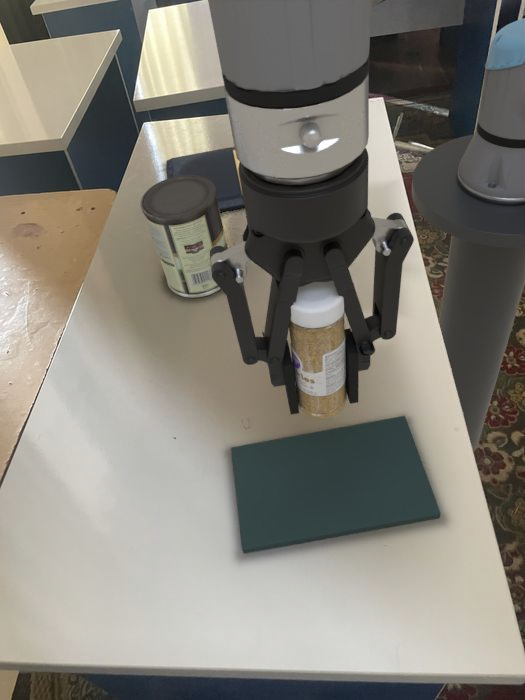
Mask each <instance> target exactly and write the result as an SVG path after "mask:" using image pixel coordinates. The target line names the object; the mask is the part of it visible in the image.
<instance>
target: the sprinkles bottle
mask: <svg viewBox="0 0 525 700" xmlns="http://www.w3.org/2000/svg"><path fill="white" fill-rule="evenodd" d="M344 329H345V311H344V298H343V297H342V296H339V295H338V293H337V290H336V287H335V285H334V282H333V281H329V282H313V283H310V284H307V285H305V286H302V287H299V288H298V293H297V298H296V302H294V303H293V305H292V306H291V319H290V324H289V330H288V332H289V338H290V345H289V347H290V354H291V358H292V363H293V369H294V377H295V384H296V392H297V399H298V407H299V411H301V412H302V413H303V414H304V415H306V416H308V417H311V418H314V419H328V418H331V417H334V416H336V415H338V414H339V413H340V412H341V411H342V410H344V408H345V407H346V404H347V401H348V396H347V392H346V388H345V379H346V345H345V330H344Z"/></svg>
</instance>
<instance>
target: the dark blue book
mask: <svg viewBox="0 0 525 700" xmlns="http://www.w3.org/2000/svg"><path fill="white" fill-rule="evenodd" d="M239 163H240V161H239V160H238V159H237V157H236V152H235V147H234V146H232V147H225V148H218V149H213V150H209V151H203V152H198V153H191V154H187V155H181V156H176V157H172V158H170V159H167V160H166V163H165V164H166V168H165V169H166V179H168V178H172V177H176V176H182V175H196V176H201V177H204V178H206V179H208V180H210V181H211V182H212V183H213V184H214V186H215V188H216V197H217V202H218V207H219V211H220V213H224V212H229V211H234V210H238V209H245V206H244V200H243V194H242V189H241V183H240V177H239V170H238V168H239Z"/></svg>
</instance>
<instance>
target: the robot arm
mask: <svg viewBox="0 0 525 700" xmlns="http://www.w3.org/2000/svg"><path fill="white" fill-rule="evenodd" d="M385 1H386V0H207V2H208V7H209V12H210V17H211V22H212V28H213V33H214V39H215V44H216V49H217V54H218V60H219V64H220V69H221V76H222V81H223V92H224V97H225V102H226V103H225V104H226V108H227V113H228V119H229V124H230V130H231V136H232V141H233V147H235V152H236V157H237V159H238V160H239V161H240V163H239V168H238V170H239V177H240V183H241V189H242V194H243V200H244V206H245V207H244V211H245V217H246V227H245V229H244V231H243V234H242V241H240V242H237V244H234V245H233V246H231V247H228V249H227V250H226V248H224V247H223V246H215V247H213V248H212V249H211V250H210V262H211V272H212V278H213V280H214V281H215V282H216V284H217V285H218V286H219V287H220V288H221V289H220V290H221V291H222V292H223V293H224V295H225V296H226V300H227V303H228V307H229V312H230V315H231V319H232V323H233V327H234V330H235V331H234V332H235V336H236V338H237V339H236V340H237V343H238V346H239V350H240V354H241V358H242V361H243V363H244V364H245V365H247V366H252V365H256V364H257V363H258V362H259V361H260V362H264V363H266V364H267V367H268V373H269V378H270V383H271V385H272V386H273V387H274V388H278V387H282V386H284V387H285V392H286V397H287V402H288V408H289V413H290V415H297V414H300V408H299V407H298V399H297V392H296V383H295V377H294V369H293V363H292V354H291V348H290V345H289V341H288V335H289V324H290V319H291V306H292V305H293V303H294V302H296V298H297V293H298V288H299V287H302V286H305V285H307V284H310V283H313V282H329V281H333V282H334V285H335V287H336V290H337V293H338V295H339V296H342V297H343V298H344V311H345V312H344V315H345V317H346V319H347V322H348V325H349V328H344V330H345V345H346V379H345V388H346V392H347V400H348V402H349V405H352V404H356V403H359V372H363V371H368V370H369V368H370V367H371V356H373V355H374V354H375V352H376V347H375V344H374V342H375V341H377V340H378V339H381V340H385V341H387V340H392V339H393V338H394V337H396V335H397V330H398V329H397V326H398V316H399V307H400V306H399V305H400V298H401V297H400V295H401V286H402V285H401V284H402V275H403V274H402V273H403V264H404V261H405V259H406V257H407V255H408V254H409V252H410V250H411V248H412V246H413V244H414V241H415V239H414V236H413V234H412V232H411V230H410V228H409V226H408V224H407V222H406V220H405V218H404V216H403V215H402V213H399V212H393V213H390V214H389V215H388V216H387V217H386V218H380V217H373V216H372V213H371V211H370V210H369V208H368V207H369V160H370V159H369V152H368V150H367V146H368V144H369V134H370V132H369V129H370V128H369V126H370V121H369V120H370V117H369V115H370V112H369V108H370V105H369V100H370V98H369V95H370V94H369V92H370V91H369V89H370V87H369V83H370V82H369V78H370V77H369V75H370V73H369V72H370V68H371V66H370V53H371V48H370V47H371V46H370V45H371V42H370V41H371V22H372V21H371V19H372V8H373V7H375V6H377V5H379V4H381V3H383V2H385ZM483 76H484V77H483V83H482V90H481V96H480V103H479V108H478V109H479V110H478V115H477V121H476V128H475V132H474V136H473V138H472V140H471V141H470V143H469V145H468V147H467V149H466V151H465V153H464V155H463V157H462V159H461V161H460V163H459V167H458V172H457V181H458V184H459V186H460V187H461V189H462V190H463V191H464V192H466V193H467V194H468V195H470V196H472V197H473V198H475V199H478V200H480V201H483V202H486V203H490V204H496V205H504V206H518V205H525V17H523V18H520V19H517V20H514V21H513V22H510V23H508V24H506V25H505V26H503V27H502V28H500V29H499V30H498V31H497V32H496V33H495V34H494V36H493V38H492V40H491V42H490V47H489V51H488V55H487V59H486V61H485V64H484V75H483ZM370 241H371V242H372V244H373V246H374V248H375V251H374V268H373V269H374V271H373V291H372V310H371V311H372V314H371V315H370V316H367V317H365V315H364V311H363V308H362V305H361V303H360V299H359V297H358V293H357V291H356V288H355V284H354V281H353V278H352V275H351V272H350V269H349V268H350V267H351V265H352V264H353V263H354V261H355V260H356V259H357V258H358V256H359V255H360V254H361V253H362V251H363V250H364V248H365V247H367V245H368V244H369V242H370ZM249 262H253V263H254V264H255V265H257V266H258V267H259V268H261V269H262V270H263V271H264V272H266V273H267V274H268V275H270V276H271V282H270V288H269V296H268V302H267V311H266V318H265V323H264V331H262V332H261V334H262V336H256V333H255V328H254V324H253V319H252V315H251V311H250V307H249V301H248V298H247V293H246V288H245V285H244V284H245V283H244V281H245V278H246V277H247V275H248V267H247V265H248V263H249Z"/></svg>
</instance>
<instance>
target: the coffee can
mask: <svg viewBox="0 0 525 700" xmlns="http://www.w3.org/2000/svg"><path fill="white" fill-rule="evenodd" d="M140 210H141V211H142V214H143V215H144V217H145V220H146V224H147V226H148V229H149V232H150V235H151V238H152V240H153V243H154V246H155V250H156V253H157V255H158V258H159V261H160V264H161V266H162V270H163V272H164V276H165V279H166V283H167V285H168V287H169V289H170V290H171V292H173V293H174V294H176V295H178V296H181V297H184V298H188V299H189V298H191V299H193V298H194V299H195V298H197V299H198V298H203V297H207V296H210V295H213V294H215V293H218V292H219V291H220V290H221V288H220V287H219V286H218V285H217V284H216V282H215V281H214V280H213V278H212V272H211V262H210V250H211V249H212V248H213V247H215V246H223V247H224V248H226V250H227V249H229V247H228V243H227V240H226V239H227V238H226V234H225V230H224V225H223V222H222V217H221V212H220V211H219V207H218V202H217V197H216V188H215V186H214V184H213V183H212V182H211V181H210V180H208V179H206V178H204V177H201V176H196V175H182V176H176V177H172V178H168V179H167V178H166V179H163V180H161V181H159V182H157V183H155V184H154V185H152V186H150V188H148V189H147V190H146V191H145V192H144V194H143V195H142V196H141V199H140Z"/></svg>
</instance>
